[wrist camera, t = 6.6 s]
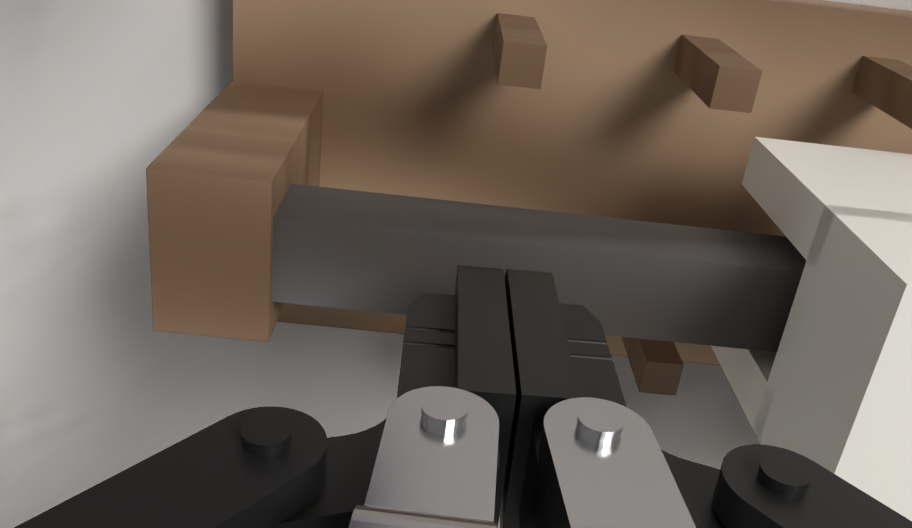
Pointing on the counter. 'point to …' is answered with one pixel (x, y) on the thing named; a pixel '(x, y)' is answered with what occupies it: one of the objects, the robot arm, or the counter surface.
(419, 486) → the robot arm
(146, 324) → the counter surface
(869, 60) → the brown peg stand
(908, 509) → the grooved cream cube
